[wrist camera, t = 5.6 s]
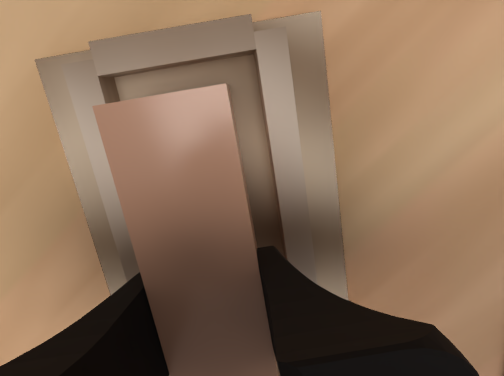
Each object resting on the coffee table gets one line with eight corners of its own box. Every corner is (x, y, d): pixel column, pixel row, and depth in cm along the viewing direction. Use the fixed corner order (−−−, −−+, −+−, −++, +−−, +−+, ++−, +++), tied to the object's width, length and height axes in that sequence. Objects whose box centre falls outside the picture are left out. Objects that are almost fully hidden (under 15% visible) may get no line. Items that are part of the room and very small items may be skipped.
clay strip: (276, 354, 16) (294, 471, 11) (212, 365, 16) (201, 486, 11) (229, 84, 12) (226, 83, 8) (147, 98, 12) (92, 105, 8)
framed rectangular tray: (349, 361, 17) (367, 405, 15) (153, 394, 17) (140, 444, 15) (314, 16, 13) (332, 0, 10) (49, 61, 13) (6, 55, 10)
